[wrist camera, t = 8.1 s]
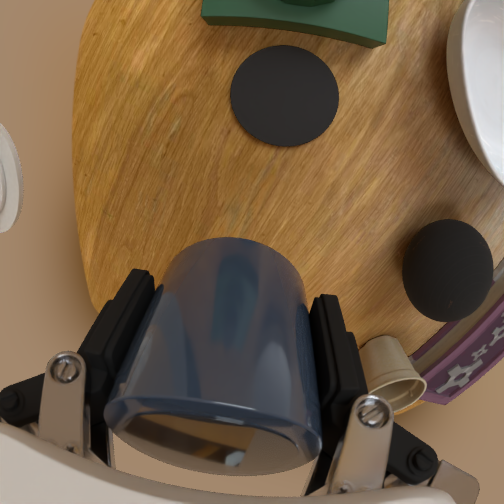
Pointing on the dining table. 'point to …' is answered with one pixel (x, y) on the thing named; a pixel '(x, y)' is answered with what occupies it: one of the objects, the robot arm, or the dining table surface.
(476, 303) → the speaker
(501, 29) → the serving bowl
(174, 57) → the dining table surface
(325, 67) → the coaster
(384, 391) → the flower pot
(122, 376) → the tumbler
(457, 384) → the book
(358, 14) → the green base stand
